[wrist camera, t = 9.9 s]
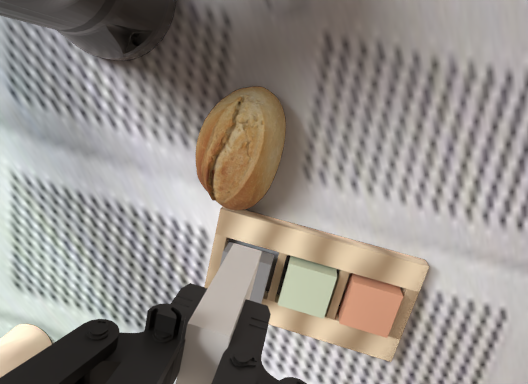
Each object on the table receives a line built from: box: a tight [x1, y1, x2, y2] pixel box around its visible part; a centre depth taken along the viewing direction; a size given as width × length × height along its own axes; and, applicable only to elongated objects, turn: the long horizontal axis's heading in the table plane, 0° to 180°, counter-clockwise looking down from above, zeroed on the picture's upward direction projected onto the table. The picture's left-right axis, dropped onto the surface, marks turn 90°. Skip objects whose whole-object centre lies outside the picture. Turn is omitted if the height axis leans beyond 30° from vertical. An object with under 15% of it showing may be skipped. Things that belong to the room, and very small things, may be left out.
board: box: [204, 207, 429, 362], centre depth 46 cm, size 26×14×2 cm, turn 77°
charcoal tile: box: [219, 242, 274, 304], centre depth 45 cm, size 6×6×3 cm
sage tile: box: [278, 256, 337, 319], centre depth 45 cm, size 6×6×3 cm
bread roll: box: [196, 87, 286, 210], centre depth 40 cm, size 10×15×8 cm, turn 166°
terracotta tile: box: [339, 273, 403, 338], centre depth 45 cm, size 6×6×3 cm
